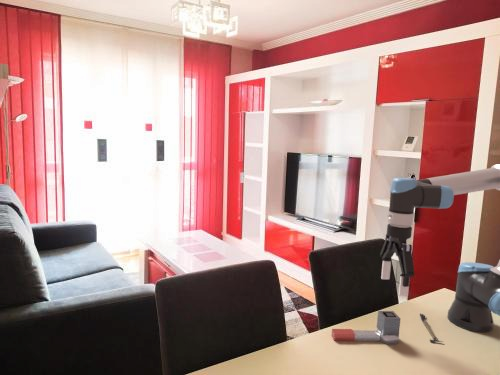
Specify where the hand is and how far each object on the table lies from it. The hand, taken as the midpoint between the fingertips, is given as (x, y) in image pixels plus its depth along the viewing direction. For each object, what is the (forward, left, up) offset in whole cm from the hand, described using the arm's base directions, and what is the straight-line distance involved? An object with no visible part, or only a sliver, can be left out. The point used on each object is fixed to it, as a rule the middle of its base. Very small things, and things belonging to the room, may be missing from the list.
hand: (393, 286), depth 125 cm
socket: (+1, 0, -16) cm, 16 cm away
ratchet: (+8, 0, -19) cm, 20 cm away
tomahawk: (-20, -7, -19) cm, 28 cm away
